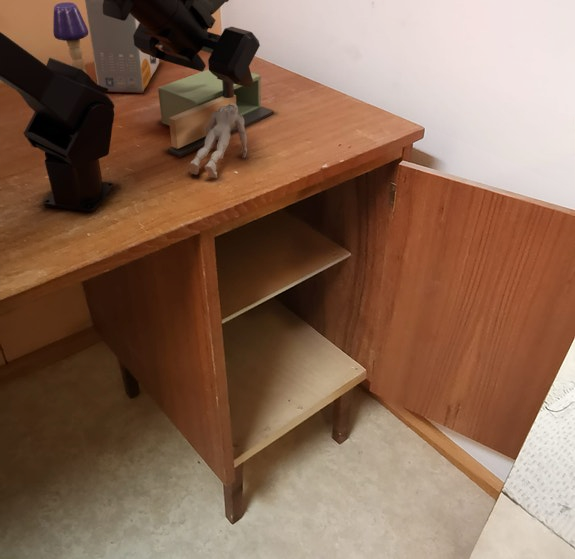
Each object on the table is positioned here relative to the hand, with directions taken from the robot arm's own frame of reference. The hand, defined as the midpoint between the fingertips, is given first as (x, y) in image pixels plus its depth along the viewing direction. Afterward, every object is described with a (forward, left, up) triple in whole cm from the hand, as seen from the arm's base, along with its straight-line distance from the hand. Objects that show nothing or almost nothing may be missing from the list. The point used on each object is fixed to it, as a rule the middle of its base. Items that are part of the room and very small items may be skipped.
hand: (226, 76), depth 87 cm
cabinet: (+1, +4, -8) cm, 9 cm away
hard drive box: (+16, +22, -8) cm, 29 cm away
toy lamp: (-3, +21, -8) cm, 23 cm away
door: (-4, +2, -8) cm, 9 cm away
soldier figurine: (-10, -2, -8) cm, 13 cm away
